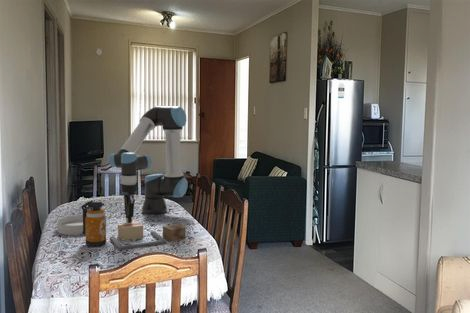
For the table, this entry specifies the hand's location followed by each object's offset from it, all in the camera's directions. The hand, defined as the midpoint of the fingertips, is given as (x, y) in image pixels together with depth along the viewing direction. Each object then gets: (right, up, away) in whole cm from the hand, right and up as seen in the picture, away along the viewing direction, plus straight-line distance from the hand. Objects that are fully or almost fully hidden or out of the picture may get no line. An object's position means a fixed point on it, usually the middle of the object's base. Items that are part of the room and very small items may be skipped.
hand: (129, 229), depth 203 cm
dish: (-27, -1, +6) cm, 28 cm away
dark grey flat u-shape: (+7, -3, -13) cm, 15 cm away
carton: (+2, -2, -6) cm, 7 cm away
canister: (-12, -3, -17) cm, 21 cm away
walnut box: (+24, -3, -7) cm, 25 cm away
